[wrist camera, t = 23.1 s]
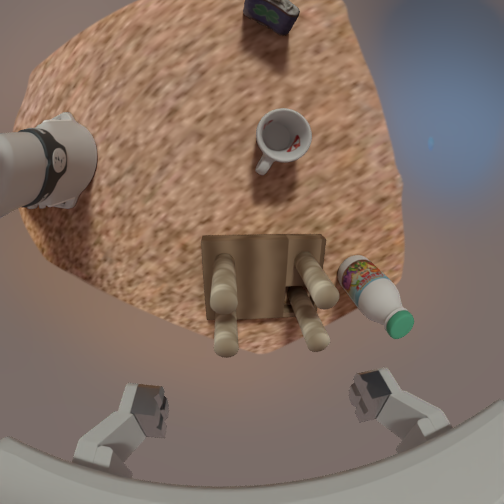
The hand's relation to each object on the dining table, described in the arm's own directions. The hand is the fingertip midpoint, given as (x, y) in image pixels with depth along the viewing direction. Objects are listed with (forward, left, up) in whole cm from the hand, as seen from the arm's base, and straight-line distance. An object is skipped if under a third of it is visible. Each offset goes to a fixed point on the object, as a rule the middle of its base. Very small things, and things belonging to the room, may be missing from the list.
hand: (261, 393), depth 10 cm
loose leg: (+12, -18, -39) cm, 45 cm away
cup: (+6, +10, -39) cm, 41 cm away
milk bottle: (+24, -14, -39) cm, 48 cm away
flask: (+5, +34, -39) cm, 52 cm away
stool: (+5, -14, -39) cm, 42 cm away
